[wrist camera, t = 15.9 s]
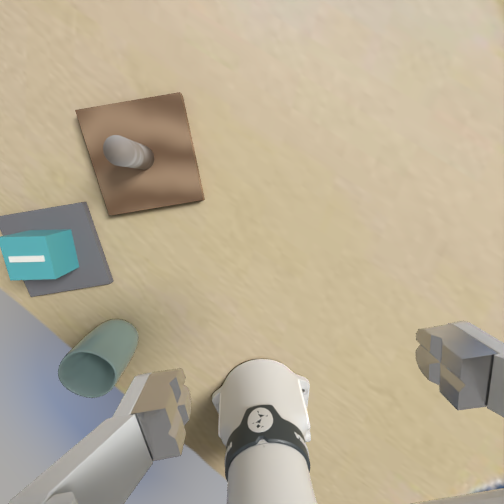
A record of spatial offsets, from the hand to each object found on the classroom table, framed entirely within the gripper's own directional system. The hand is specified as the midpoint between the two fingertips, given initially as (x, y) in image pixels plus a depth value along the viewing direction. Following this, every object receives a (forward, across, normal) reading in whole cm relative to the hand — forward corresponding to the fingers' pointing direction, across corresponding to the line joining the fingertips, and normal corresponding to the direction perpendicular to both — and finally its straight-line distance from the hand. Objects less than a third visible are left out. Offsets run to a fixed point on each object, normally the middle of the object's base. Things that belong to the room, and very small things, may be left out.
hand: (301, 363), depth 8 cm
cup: (+31, +26, +15) cm, 43 cm away
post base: (+31, +14, -12) cm, 36 cm away
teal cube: (+30, +31, -1) cm, 43 cm away
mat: (+31, +31, -1) cm, 44 cm away
